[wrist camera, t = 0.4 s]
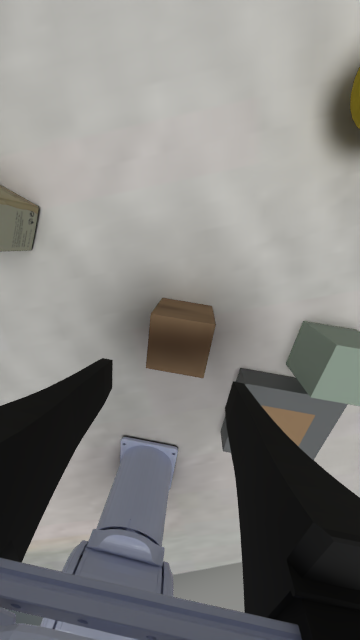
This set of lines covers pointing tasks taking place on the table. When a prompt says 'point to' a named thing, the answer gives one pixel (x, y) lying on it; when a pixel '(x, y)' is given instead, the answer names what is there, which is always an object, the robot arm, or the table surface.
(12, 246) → the skincare box
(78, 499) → the table surface
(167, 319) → the walnut cube
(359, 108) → the lemon
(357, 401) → the sage cube
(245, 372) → the charcoal block
